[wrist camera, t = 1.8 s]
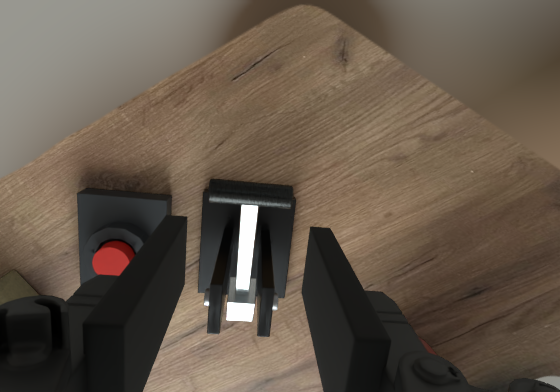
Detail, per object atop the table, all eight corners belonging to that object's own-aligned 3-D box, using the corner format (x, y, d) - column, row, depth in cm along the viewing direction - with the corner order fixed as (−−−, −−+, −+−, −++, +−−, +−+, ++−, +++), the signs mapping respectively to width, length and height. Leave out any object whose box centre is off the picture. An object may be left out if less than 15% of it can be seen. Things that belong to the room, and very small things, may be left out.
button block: (86, 187, 39) (67, 197, 36) (171, 195, 40) (162, 205, 36) (89, 288, 42) (72, 307, 39) (168, 293, 43) (160, 312, 39)
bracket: (204, 189, 40) (178, 235, 27) (295, 196, 41) (313, 245, 28) (199, 287, 43) (173, 372, 30) (283, 293, 44) (294, 378, 31)
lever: (212, 168, 23) (206, 195, 21) (292, 175, 23) (293, 202, 21) (213, 293, 32) (209, 319, 30) (270, 297, 33) (269, 322, 31)
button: (99, 239, 37) (91, 245, 35) (135, 241, 37) (129, 248, 36) (99, 271, 38) (92, 279, 36) (135, 273, 38) (129, 281, 37)
